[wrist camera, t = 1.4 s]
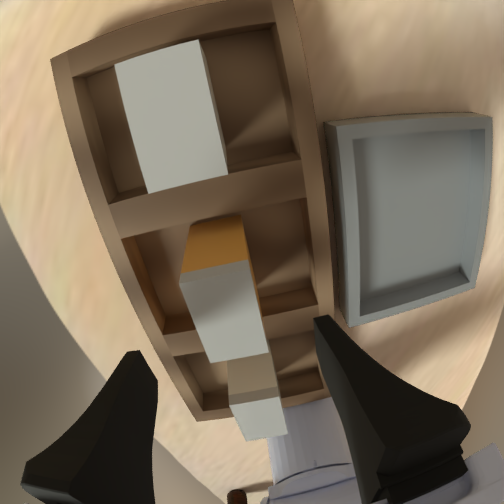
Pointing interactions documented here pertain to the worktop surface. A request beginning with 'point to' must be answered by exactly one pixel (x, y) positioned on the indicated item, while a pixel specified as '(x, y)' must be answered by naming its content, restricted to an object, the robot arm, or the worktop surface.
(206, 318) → the grey and orange block
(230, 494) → the bolt
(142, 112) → the block
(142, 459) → the robot arm
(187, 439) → the worktop surface
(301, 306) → the holder
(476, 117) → the tray
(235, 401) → the block
